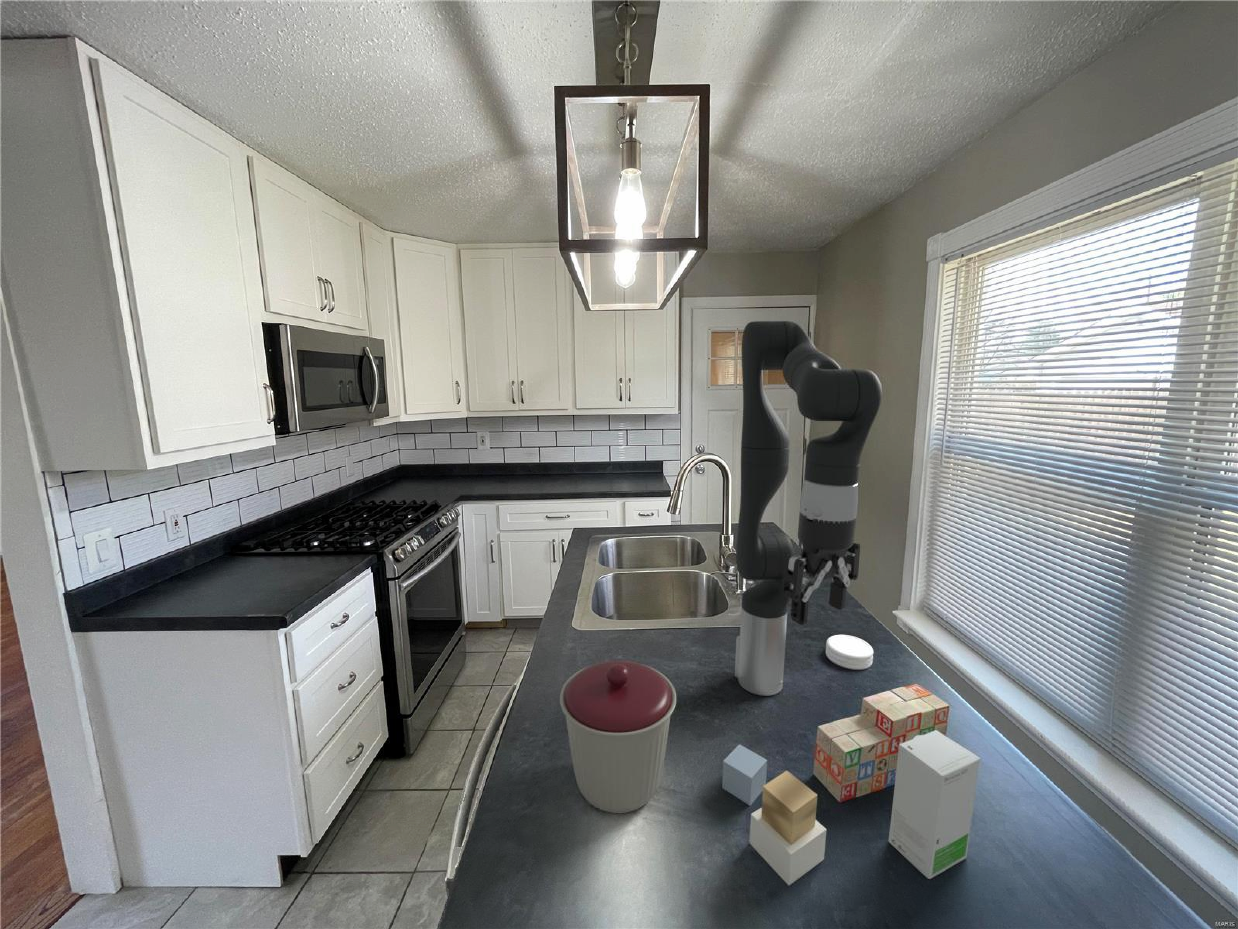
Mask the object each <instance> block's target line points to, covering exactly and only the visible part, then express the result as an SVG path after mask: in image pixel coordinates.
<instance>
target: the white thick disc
mask: <svg viewBox="0 0 1238 929" xmlns="http://www.w3.org/2000/svg"><path fill="white" fill-rule="evenodd" d="M825 645H826V646H825V655H826V657H827V658H828V660H830V661H831V663H834V664H835V665H837V666H839V667H842V668H845V669H848V670H849V669H850V670H866V669H868V668H870V667H871V666H872V665H873V662H874V649H873V647H872V645H870V644H869V643H868V642H867V641H865V640H864V639H862V638H859V637H857V636H853V635H848V634H835V635H832V636H830V637H828V638H827V640H826V644H825Z"/></svg>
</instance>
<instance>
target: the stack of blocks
mask: <svg viewBox="0 0 1238 929" xmlns="http://www.w3.org/2000/svg"><path fill="white" fill-rule="evenodd" d="M949 711H950V704H949V703H947V702H945V701H944V700H942V699H940V698H939V697H938V696H937V695H935V694H932V692H930V691H929V690H927V689H926V688H924V687H923V686H921V685H920V684H916V683H914V684H912V685H908V686H900V687H897V688H893V689H891V690H887V691H886V690H885V691H882V692H879V693H876V694H872V695H870V696H866V697H863V698H862V702H861V711H860V714H858V715H853V716H850V717H845V718H842V719H838V720H834V721H831V722H828V723H824V724H822V725H817V731H816V742H815V747H814V761H813V771H812V772H813V775H814V776H815V777H816V779H818V781H819V782H820V783H821V784H822V785H823V786H824V787H825V788H826V789H827V791H828V792H829V793H830V794H831V795H832V796H833V797H834V798H835V799H836V801H838V803H842V802H845V801H848V800H852V799H855V798H858V797H862V796H866V795H868V794H870V793H874V792H878V791H880V790H883V789H885V788H887V787H891V786H895V778H896V769H897V760H898V746H899V744H902V743H904V742H907V741H910V740H912V739H914V737H915V736H917V735H925V734H927V733H930V732H933V731H935V730H937V731H938V732H940V733H941V734H943V735H944V736H946V737H947V731H948V726H949V725H948V723H949V722H948V720H949V719H948V718H949V714H950V713H949Z"/></svg>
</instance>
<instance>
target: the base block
mask: <svg viewBox="0 0 1238 929" xmlns="http://www.w3.org/2000/svg"><path fill="white" fill-rule="evenodd" d="M761 812H762V807H760V808H758V809H757V810H755V811H754V812H752V813H750V828H749V844H750V845H751V846H752V848H754V850H755V851H757V853H758V854H759V855H760V857H762V858H763V859H764V861H765V862H767V864H768V865H769V866H770V867H771V868H772V869H773V870H774V871H775V873H776V874H777V875H778V877H779V876H780V878H781V879H782V880H783V881H784V882H785V883H786V884H787V885H788V886H791V885H792V884H793V883H794V882H797V880H799V879H800V878H801V877H802V876H804V875H805V874H807V873H808V872H810V871H811V870H812V869H814V867H816V866H817V865H819V864H820V863H821V862H823V861H824V860H825V854H826V853H825V851H826V841H827V828H826V827H825V826H824V825H822V824H821V823H820V821H818V820H817V819H815V827H814V828H812V829H811V830H810V831H808V832H807V833H806V834H805V835H803V836H802V837H801V838H800V839H798V840H797V841H796V842H795V843H793V844H792V845H790V844H789V843H788V842H787V841H786V840H785V839H784V838H783V837H782V836H781V835H780V834H779V833H778V832H776V831H775V830H774V829H773V828H772V827H771V826H770V825H769V824H768V823H767V822H766V821H765V820H764V819H763V818H761Z"/></svg>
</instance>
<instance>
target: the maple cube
mask: <svg viewBox="0 0 1238 929" xmlns="http://www.w3.org/2000/svg"><path fill="white" fill-rule="evenodd" d="M817 806H818V794H817V793H816V792H814V791H813V790H812V789H811V788H809V786H808V785H807V784H805V783H804V782H802V781H801V780H799V778H797V777H796V776H794V774H792V773H791V772H789V771H788V770H785V771H783V773H781V774H779V775H778V776H776V777H775V778H773V779H771V780H769V782H766V785H764V786H763V791H762V800H761V808H762V812H761V818H763V819H764V820H765V821H766V822H767V823H768V824H769V825H770V826H771V827H772V828H773V829H774V830H775V831H776V832H778V833H779V834H780V835H781V836H782V837H783V838H784V839H785V840H786V841H787V842H788V843H789V844H790V845H792V844H793V843H795V842H796V841H797V840H798V839H800V838H801V837H802V836H803V835H805V834H806V833H807V832H808V831H810V830H811V829H812V828H814V827H815V819H816V818H817V816H816V815H817V808H818V807H817ZM816 820H817V819H816Z"/></svg>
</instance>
